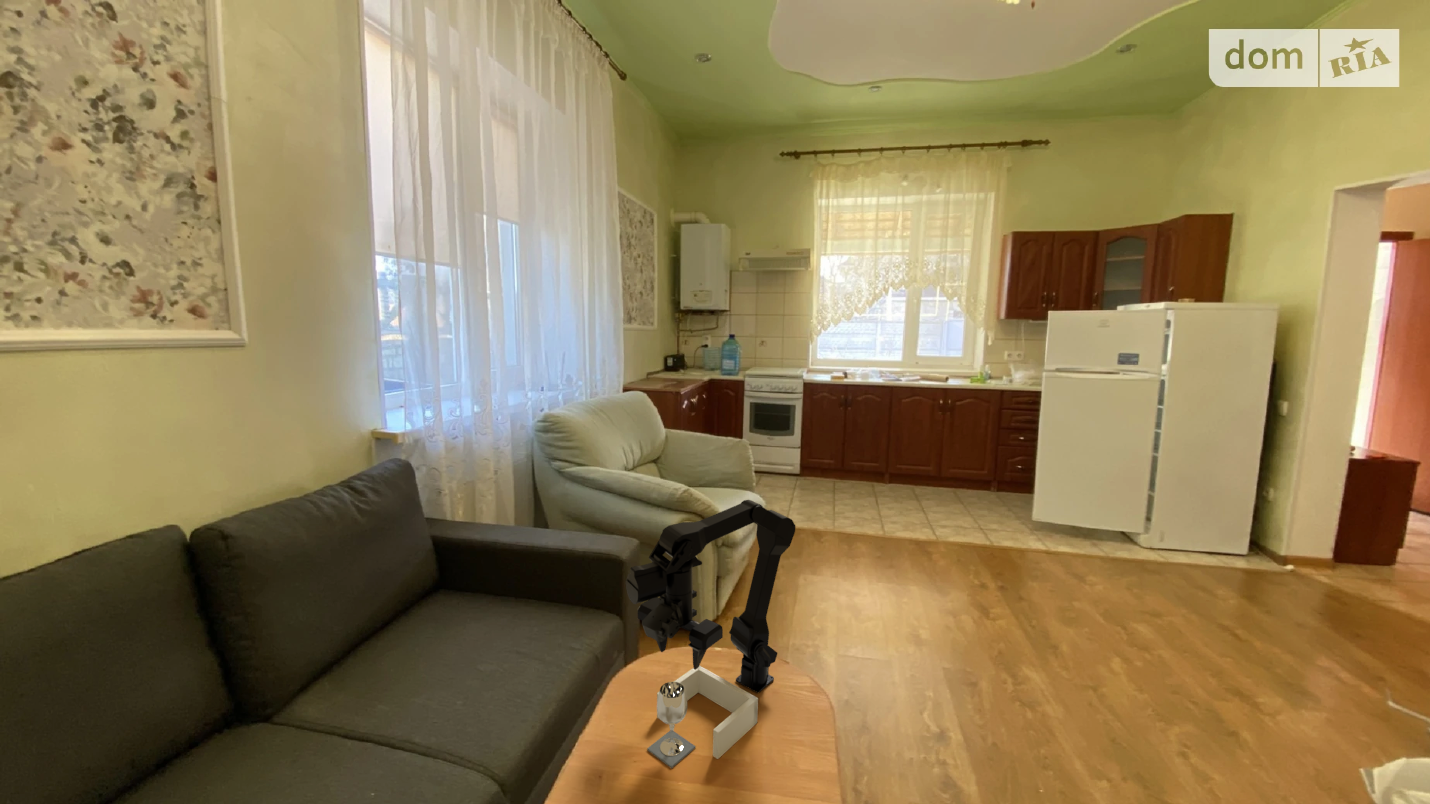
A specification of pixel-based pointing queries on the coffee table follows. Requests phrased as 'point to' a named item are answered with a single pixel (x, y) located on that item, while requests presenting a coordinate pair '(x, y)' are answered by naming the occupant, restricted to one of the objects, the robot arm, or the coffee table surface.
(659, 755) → the felt mat
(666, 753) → the wineglass
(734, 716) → the corner wall
